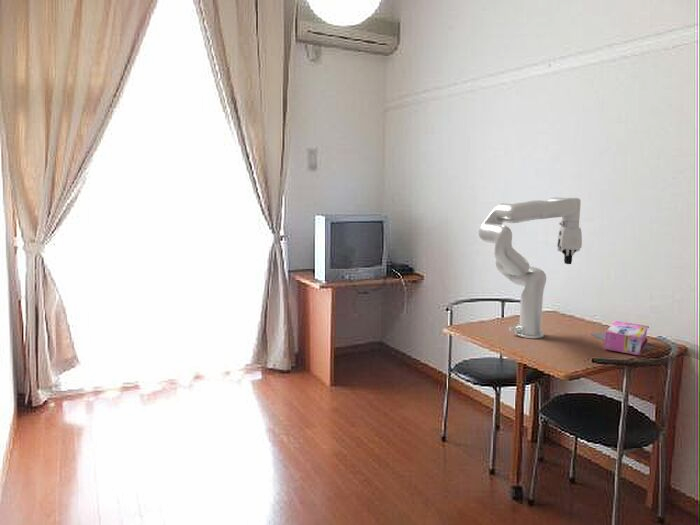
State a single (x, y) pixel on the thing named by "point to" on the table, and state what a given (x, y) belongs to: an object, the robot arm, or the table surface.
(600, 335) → the mat
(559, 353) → the table surface
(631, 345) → the gum box
